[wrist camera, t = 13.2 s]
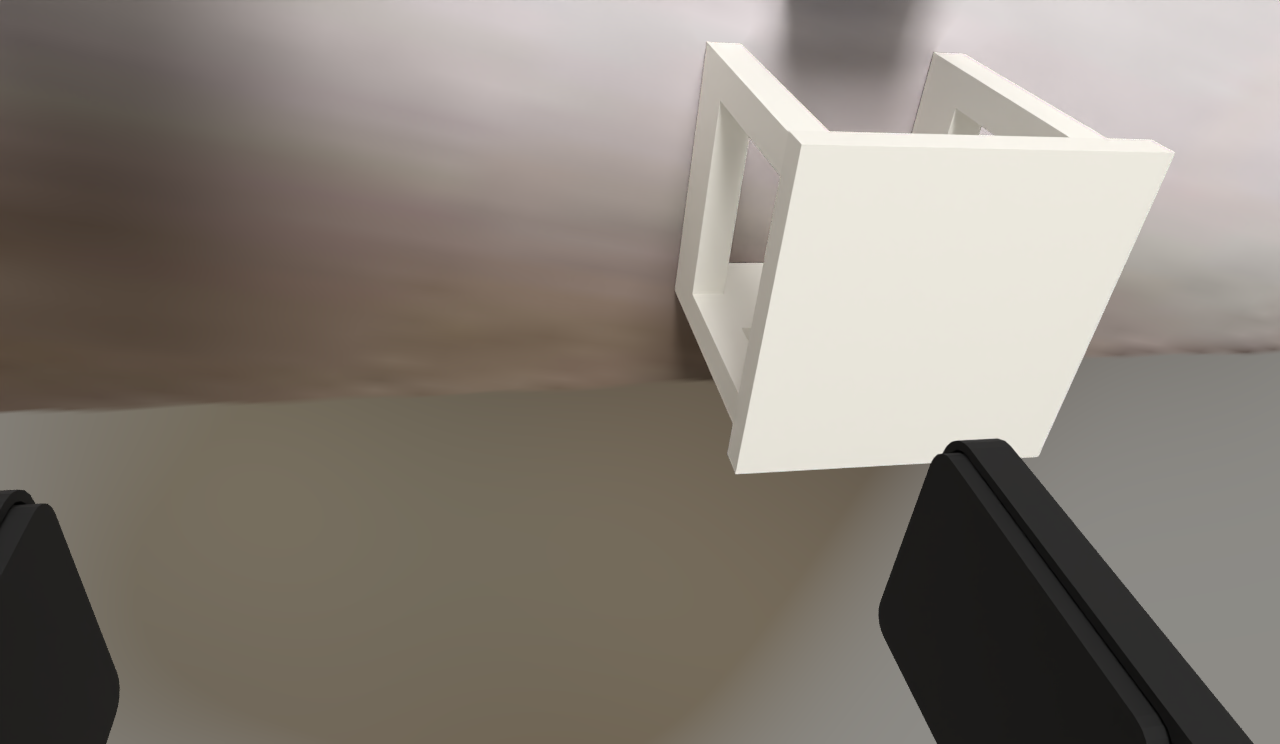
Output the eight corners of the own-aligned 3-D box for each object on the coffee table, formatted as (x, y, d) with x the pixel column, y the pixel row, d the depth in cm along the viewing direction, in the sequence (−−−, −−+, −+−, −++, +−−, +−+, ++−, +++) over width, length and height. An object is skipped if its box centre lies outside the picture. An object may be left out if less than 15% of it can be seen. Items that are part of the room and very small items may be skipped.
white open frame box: (697, 29, 37) (801, 144, 26) (977, 42, 39) (1175, 152, 29) (663, 299, 44) (735, 474, 34) (902, 295, 47) (1038, 456, 36)
